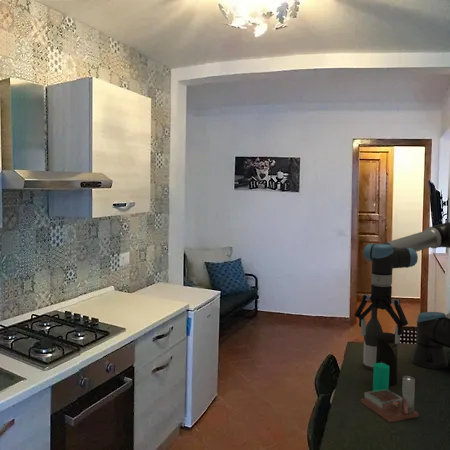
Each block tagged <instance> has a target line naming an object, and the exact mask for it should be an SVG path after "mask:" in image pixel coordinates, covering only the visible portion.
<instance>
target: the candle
mask: <svg viewBox="0 0 450 450" xmlns="http://www.w3.org/2000/svg"><path fill="white" fill-rule="evenodd" d="M372 376H373V377H372V391H374V390H380V389H386V388H387V389H389V387H390V386H389V365H386V364H384V363H382V361H381V363H375V364H374V369H373V375H372ZM389 390H390V389H389Z"/></svg>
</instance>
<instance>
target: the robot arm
mask: <svg viewBox="0 0 450 450" xmlns="http://www.w3.org/2000/svg"><path fill="white" fill-rule="evenodd" d="M437 248H448V249H450V221H448V222H443V223H440V224H439V223H438V224H436V225H432V226H430V227H426V228H425V229H424V230H423V231H420V232H417V233H413V234H410V235H407V236H404V237H403V236H402V237H400V238H396V239H393V240H389V241H386V242H383V243H368V244H367V245H366V246H365V247H364V249H363V256H364V259H365V260H366V261H368V262H371V286H370V287H371V288H370V294H371V295H369V294H364V295H362V301H361V302H360V304H359V306H358V308H357V310H356V312H355V313H354V317H356V318H358V326H359V327H360V336H361V337H364V335H366V325H367V318H365V317H366V316H367V315H368V314H369V313H370V312H371V311H372V309H373V308H374V307H375V308H376V309H377V310H378V309H379V310H382V311H384V310H385V311H386V312H387V313H388V315H390V317H391V318H392V320H393V322H394V323H395V324H396V325H395V330H394V331H395V332H394V334H395V344H398V345H399V343H400V341H401V340H400V338H401V336H402V335H403V327H406V326H407V325H408V324H409V322H408V320H407V317H406V315H405V313H404V310H403V309H402V306H401V300H400V299H399V298H397V299H393V298H392V292H393V291H392V290H393V286H392V284H393V270H394V269H402V268H412V267H414V266H415V265H416V264H418V259H419V258H418V257H419V256H418V253H417V252H420V251H423V250H425V249H426V250H427V249H437ZM369 300H370V302H371V304H370V305H368V307H367V308H366V309H365V310H364V308H365V307H366V305H367V303H368V302H369ZM392 304H393V306H394V308H395V310H394V308H393V307H392ZM363 310H364V311H363ZM416 320H417V321H416V344H415V347H414V350H413V353H412V355H411V362H412V363H413V364H415V365H416V366H419V367H422V368H425V369H426V368H427V369H432V370H435V369H436V370H441V369H446V368H447V367H448V366H449V359H448V357H447V353H446V350H445V347H447V348H449V349H450V311H449V312H448V313H445V312H439V311H425V312H424V311H423V312H420V313H419V314H418V315H417V319H416Z"/></svg>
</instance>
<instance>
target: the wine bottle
mask: <svg viewBox="0 0 450 450" xmlns="http://www.w3.org/2000/svg"><path fill="white" fill-rule="evenodd" d="M370 312H371V315H370V319H369V320H368V322H366V335H364V336H363V358H362V366H363V368H364V369H366V370H369V371H373V369H374V364H375V363H376V352H377V339H376V335H377V334H378V333H382V332H384V330H383V328H382V325H381V322H380V321H379V319H378V309H376V308H375V307H374V308H373V309H372V310H371V311H370Z"/></svg>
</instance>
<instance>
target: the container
mask: <svg viewBox="0 0 450 450" xmlns="http://www.w3.org/2000/svg"><path fill="white" fill-rule="evenodd" d="M376 339H377V352H376V363H381V361H382V363H384V364H386V365H389V387H390V386H391V387H392V386H395V385H397V383H398V345H399V343H398V344H395V333H391V332H385V331H383V332H382V333H378V334H377V335H376Z"/></svg>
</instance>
